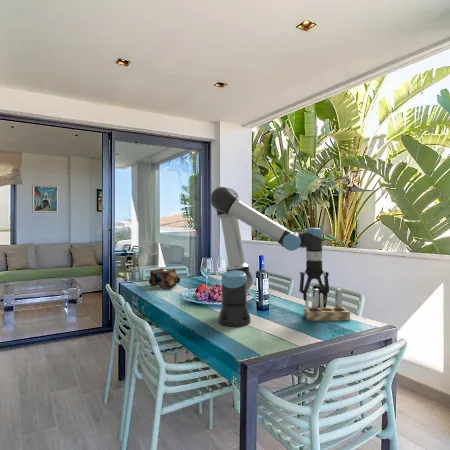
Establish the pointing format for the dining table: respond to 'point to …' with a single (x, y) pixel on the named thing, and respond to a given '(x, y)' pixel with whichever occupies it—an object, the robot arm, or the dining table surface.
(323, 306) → the coffee cup
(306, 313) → the hole block
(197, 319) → the dining table surface
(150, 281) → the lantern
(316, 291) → the peg
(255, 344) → the dining table surface
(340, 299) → the peg right
